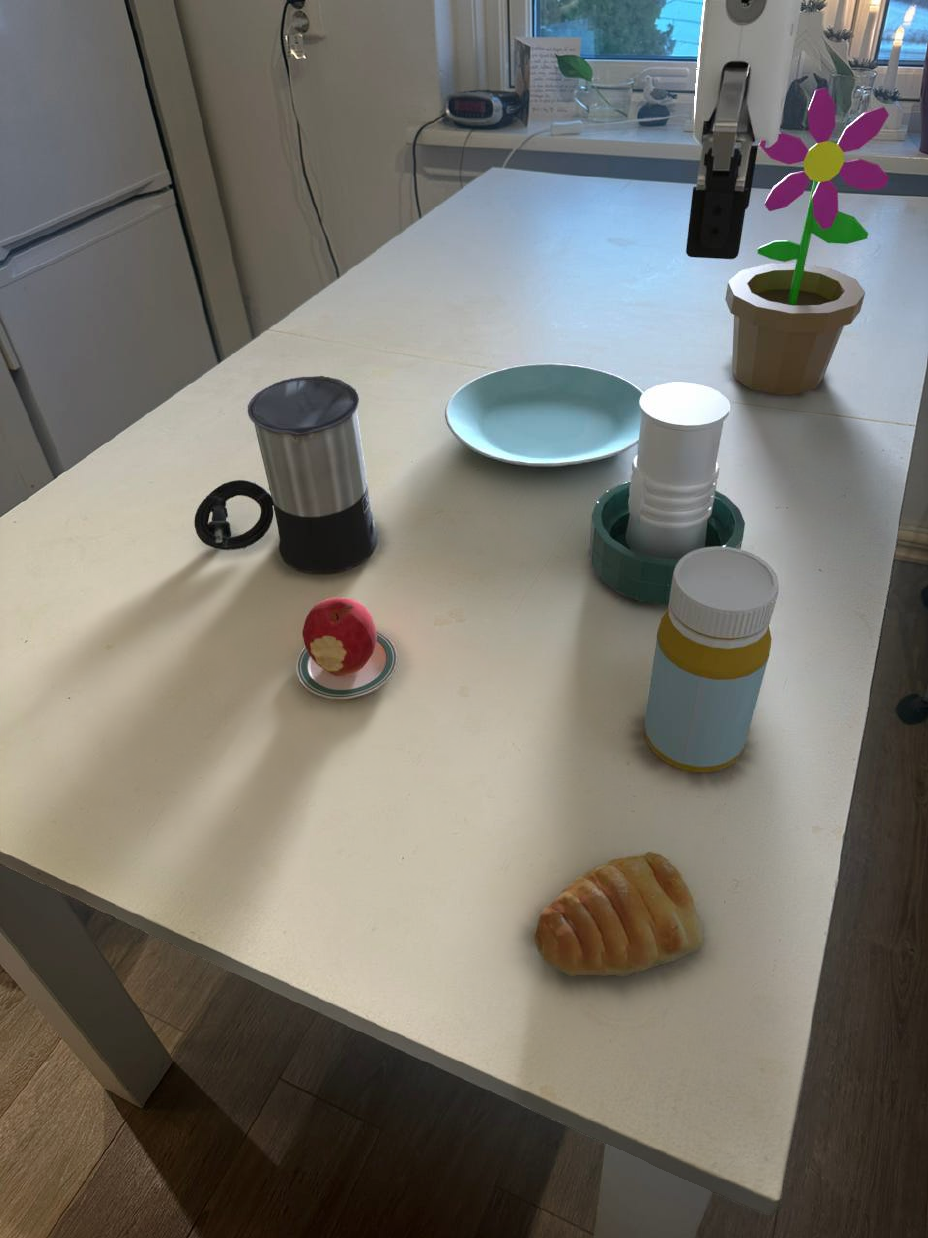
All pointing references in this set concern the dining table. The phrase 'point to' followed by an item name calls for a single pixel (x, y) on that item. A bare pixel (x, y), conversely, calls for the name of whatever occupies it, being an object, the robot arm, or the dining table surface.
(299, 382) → the milk frother
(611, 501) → the bowl
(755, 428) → the dining table surface
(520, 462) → the plate
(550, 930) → the pastry
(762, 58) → the robot arm
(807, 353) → the flowerpot
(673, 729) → the bottle
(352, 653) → the apple
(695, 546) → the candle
